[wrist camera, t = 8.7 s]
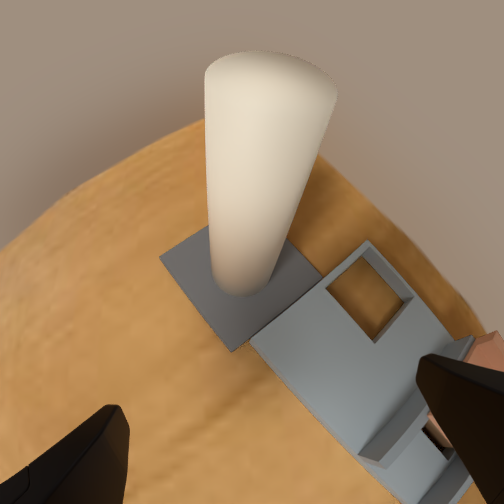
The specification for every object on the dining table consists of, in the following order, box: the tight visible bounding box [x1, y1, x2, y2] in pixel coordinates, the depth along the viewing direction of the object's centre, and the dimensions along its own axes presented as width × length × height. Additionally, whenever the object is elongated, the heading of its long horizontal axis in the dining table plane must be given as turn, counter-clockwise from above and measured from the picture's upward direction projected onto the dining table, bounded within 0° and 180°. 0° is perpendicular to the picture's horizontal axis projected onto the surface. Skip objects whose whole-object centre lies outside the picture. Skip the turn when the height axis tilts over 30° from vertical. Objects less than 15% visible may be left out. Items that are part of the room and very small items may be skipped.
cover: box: [427, 331, 504, 444], centre depth 12 cm, size 6×7×2 cm
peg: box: [205, 51, 338, 297], centre depth 14 cm, size 4×4×14 cm
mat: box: [159, 225, 323, 352], centre depth 21 cm, size 8×8×1 cm
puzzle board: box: [249, 240, 475, 504], centre depth 16 cm, size 11×18×4 cm, turn 40°
